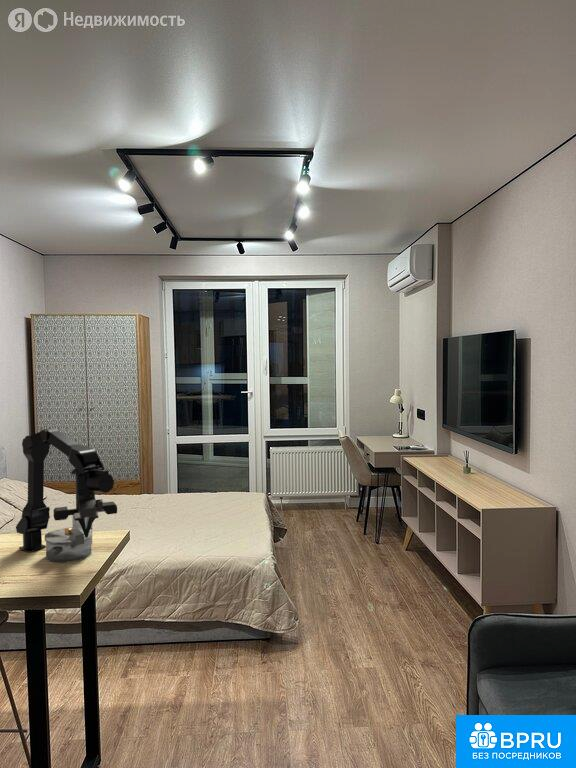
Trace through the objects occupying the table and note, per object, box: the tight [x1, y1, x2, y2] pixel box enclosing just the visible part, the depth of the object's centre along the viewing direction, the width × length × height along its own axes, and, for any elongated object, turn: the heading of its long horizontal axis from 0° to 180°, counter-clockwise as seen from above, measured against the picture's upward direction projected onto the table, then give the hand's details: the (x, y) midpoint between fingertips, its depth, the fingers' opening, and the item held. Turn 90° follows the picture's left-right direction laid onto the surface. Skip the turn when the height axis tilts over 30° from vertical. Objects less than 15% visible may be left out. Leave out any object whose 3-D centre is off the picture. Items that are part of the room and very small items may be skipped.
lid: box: [44, 526, 93, 545], centre depth 187 cm, size 21×15×4 cm
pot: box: [45, 537, 92, 564], centre depth 187 cm, size 20×14×6 cm
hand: (86, 537), depth 182 cm, fingers closed
